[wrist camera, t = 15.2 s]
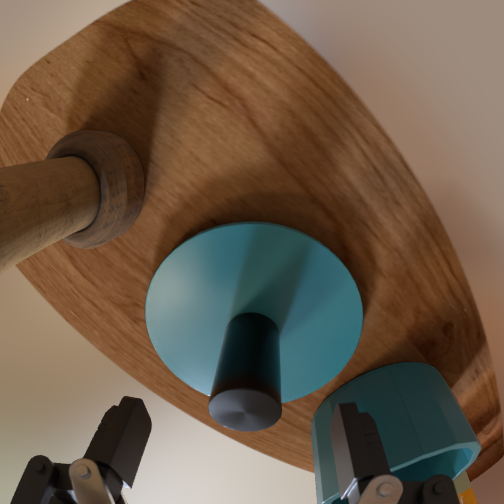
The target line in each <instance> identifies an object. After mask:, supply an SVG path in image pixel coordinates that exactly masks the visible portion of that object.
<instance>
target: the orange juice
mask: <svg viewBox="0 0 504 504" xmlns="http://www.w3.org/2000/svg"><path fill="white" fill-rule="evenodd" d="M453 482H454V485H455V488H456V492H457V495H458V499H459V502H460V504H477V501H476V498H475V495H474V493H473V490H472V486H471V484H470V481H469V478H468V476H467V473H466V471H464V472H463V473H462V474H461V475H460V476H459V477H457V478H456V479H455V480H453Z"/></svg>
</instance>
